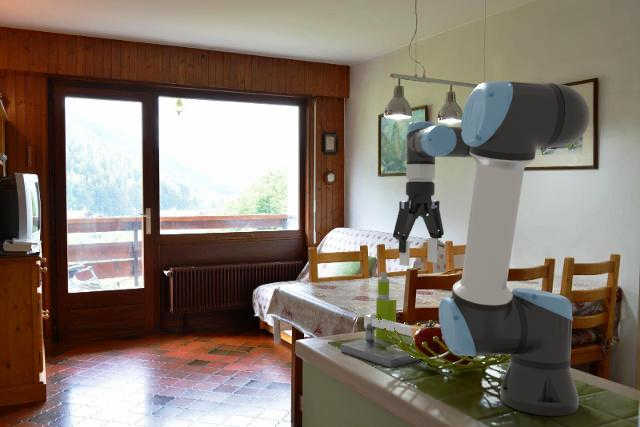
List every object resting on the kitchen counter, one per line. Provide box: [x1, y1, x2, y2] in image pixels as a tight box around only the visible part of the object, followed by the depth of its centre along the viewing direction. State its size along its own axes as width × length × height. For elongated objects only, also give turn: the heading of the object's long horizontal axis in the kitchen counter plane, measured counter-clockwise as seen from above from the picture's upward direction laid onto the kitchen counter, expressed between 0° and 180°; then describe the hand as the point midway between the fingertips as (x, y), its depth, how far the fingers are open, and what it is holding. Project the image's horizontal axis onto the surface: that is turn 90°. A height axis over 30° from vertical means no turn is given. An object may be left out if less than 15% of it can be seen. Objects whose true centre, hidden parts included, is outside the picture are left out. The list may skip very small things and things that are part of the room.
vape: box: [375, 271, 397, 344], centre depth 167 cm, size 4×6×20 cm, turn 48°
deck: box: [340, 329, 419, 369], centre depth 154 cm, size 18×12×5 cm, turn 40°
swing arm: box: [363, 313, 425, 340], centre depth 155 cm, size 20×3×4 cm, turn 40°
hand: (418, 263), depth 157 cm, fingers open, 11 cm apart
